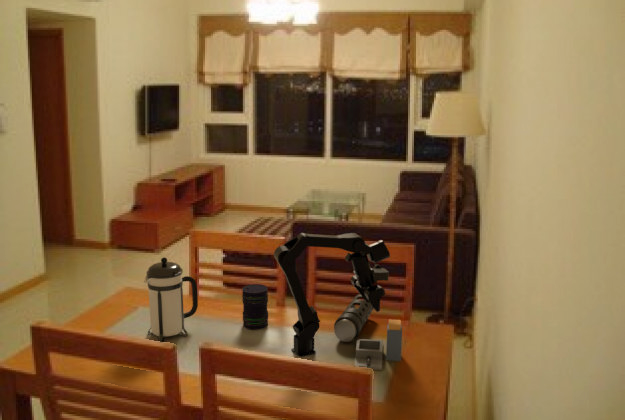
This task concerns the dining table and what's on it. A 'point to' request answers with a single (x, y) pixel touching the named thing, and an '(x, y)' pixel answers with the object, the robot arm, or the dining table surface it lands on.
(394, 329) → the orange-capped square pillar
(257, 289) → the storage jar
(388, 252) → the robot arm
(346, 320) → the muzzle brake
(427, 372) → the dining table surface
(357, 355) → the end holder
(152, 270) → the coffee press
